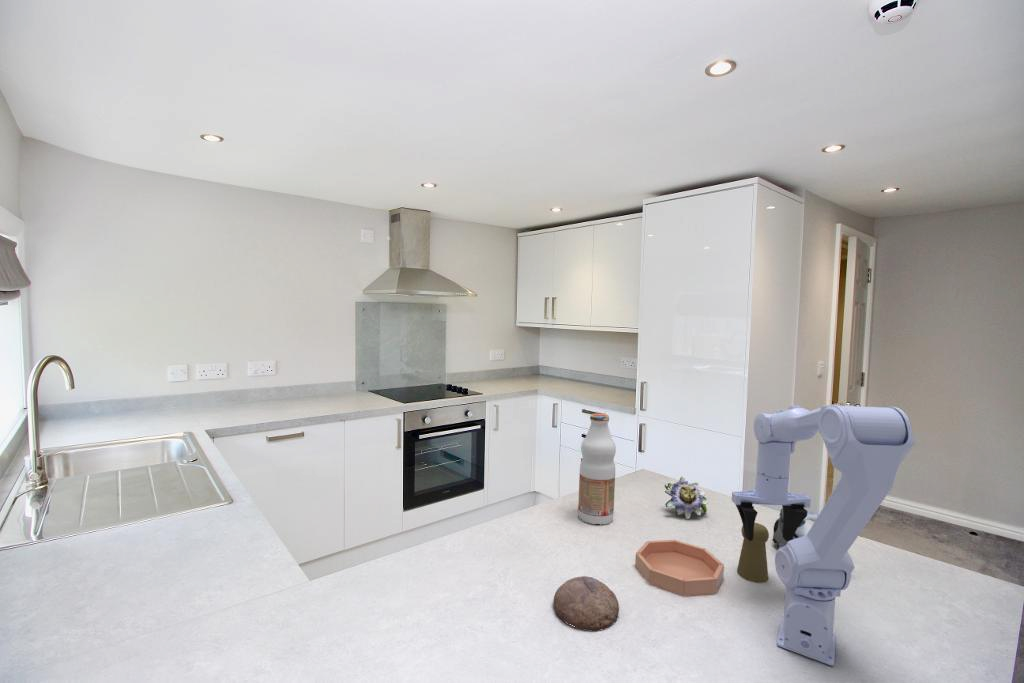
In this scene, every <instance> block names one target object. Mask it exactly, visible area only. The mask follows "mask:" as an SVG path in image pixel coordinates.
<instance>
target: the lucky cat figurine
mask: <svg viewBox="0 0 1024 683" xmlns="http://www.w3.org/2000/svg"><path fill="white" fill-rule="evenodd" d="M807 511H808V512H807V517H806V518H805V519H804V520H803V521H802V522H801V523H800V525H799V526H798V528H797V530H796V532H795V534H794V537H793V539H796V538H799V537H802V536H805V535H807V534H808V532H809V530H810V529H811V527H812V525H813V524H814V522H815V520H816V519H817V517H818V515H819V514H817V513H814V512H812V511H809V510H807ZM772 534H773V535H772V539H771V540H772V542H773V543H775V546H776V548H777V550H778V549H779V548H780V547H784V546H785V545H786V544H787V541H786V540H785V539H784V538H783V507H781V509H780V512H779V517H778V518H777V519H776V520H775V522H774V524H773V532H772ZM793 539H792V540H793Z"/></svg>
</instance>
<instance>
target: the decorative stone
mask: <svg viewBox="0 0 1024 683" xmlns="http://www.w3.org/2000/svg"><path fill="white" fill-rule="evenodd" d="M553 609H554V611H556V612H555V614H556V615H557V614H558V615H557V616H558V617H559V618H560V619H561V618H562V619H563V620H564V621H565V623H566V622H567V623H568V624H567V623H566V624H567V625H569V624H571V625H573V626H575V627H574V628H576V627H577V628H576V629H579V628H580V629H579V630H583V629H585V630H584V631H588V630H594V631H601V630H600V629H603V630H605V628H606V629H608V628H609V627H610V626H612V625H613V624H614V623H615V622H616V621H617V620H618V618H619V613H620V605H619V601H618V598H617V596H616V595H615V593H614V592H613V590H612V589H611V588H609V586H608V585H607V584H605V583H603V582H602V581H600V580H599V579H597V578H594V577H591V576H585V575H584V576H577V577H573V578H571V579H568V580H566V581H565V582H564V583H562V584H561V585H560V586H559V587H558V588H557V589H556V590H555V592H554V596H553ZM562 619H561V620H562ZM563 620H562V621H563ZM564 621H563V622H564ZM611 624H612V625H611ZM571 625H570V626H571ZM573 626H572V627H573Z"/></svg>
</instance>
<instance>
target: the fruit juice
mask: <svg viewBox="0 0 1024 683" xmlns="http://www.w3.org/2000/svg"><path fill="white" fill-rule="evenodd" d="M589 419H590V425H589V428H588V431H587V433H586V435H585V438H584V439H583V440H582V442H581V446H580V450H581V455H582V459H581V461H580V464H579V480H578V482H579V483H578V504H577V506H578V510H577V511H578V512H577V514H578V517H579V519H580V520H581V519H582V520H583V521H582V520H581V521H582V522H584V521H585V522H584V523H587V522H588V523H587V524H590V523H592V524H591V525H595V524H600V525H602V524H603V525H608V524H610V523H612V521H613V520H614V516H615V515H614V510H615V509H614V508H615V489H616V488H615V486H616V464H615V462H614V461H615V460H614V458H615V456H616V451H617V449H616V448H617V446H616V444H615V442H614V440H613V437H612V434H611V431H610V428H609V425H608V423H609V422H610V416H609V415H608V414H605V413H591V414H590V417H589Z"/></svg>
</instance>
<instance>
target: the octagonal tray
mask: <svg viewBox="0 0 1024 683" xmlns="http://www.w3.org/2000/svg"><path fill="white" fill-rule="evenodd" d="M634 565H635V568H636V569H637V571H639V573H640V574H641V575H642V577H643V578H644V579H645V581H647V583H648V584H649V585H652V586H654V587H657V588H660V589H663V590H666V591H668V592H671V593H674V594H677V595H679V596H682V597H688V596H701V595H702V596H703V595H714V594H715V595H716V594H717V592H718V590H719V588H720V586H721V584H722V582H723V580H724V572H725V570H724V569H725V564H724V563H723V562H722V561H720V560H719V559H718V558H717V557H716V556H714V555H713V553H711V552H710V551H709V550H708V549H707V548H705V547H701V546H698V545H694V544H691V543H688V542H684V541H680V540H677V539H664V540H663V539H661V540H660V539H659V540H646V541H645V542H644V543H643V544H642V546H640V547H639V549H638V550H637V551H636V552H635V564H634Z"/></svg>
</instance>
